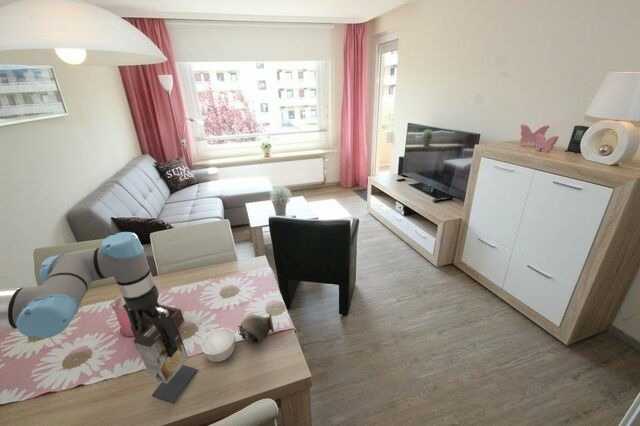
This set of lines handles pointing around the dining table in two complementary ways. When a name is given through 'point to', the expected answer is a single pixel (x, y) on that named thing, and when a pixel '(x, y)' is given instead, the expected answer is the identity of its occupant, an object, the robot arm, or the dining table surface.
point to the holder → (175, 315)
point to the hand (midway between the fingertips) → (163, 350)
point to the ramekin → (218, 344)
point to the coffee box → (160, 354)
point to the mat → (175, 384)
